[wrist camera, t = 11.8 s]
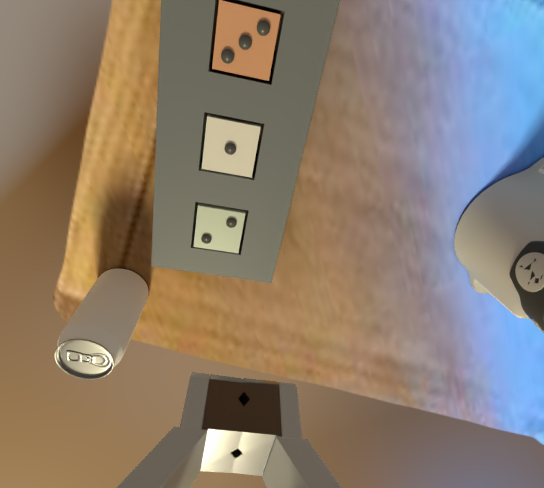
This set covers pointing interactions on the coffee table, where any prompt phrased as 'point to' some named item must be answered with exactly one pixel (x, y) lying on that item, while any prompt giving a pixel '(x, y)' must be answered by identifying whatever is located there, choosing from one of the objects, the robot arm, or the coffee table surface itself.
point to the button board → (242, 105)
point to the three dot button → (245, 40)
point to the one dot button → (230, 145)
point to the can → (102, 325)
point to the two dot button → (219, 227)
